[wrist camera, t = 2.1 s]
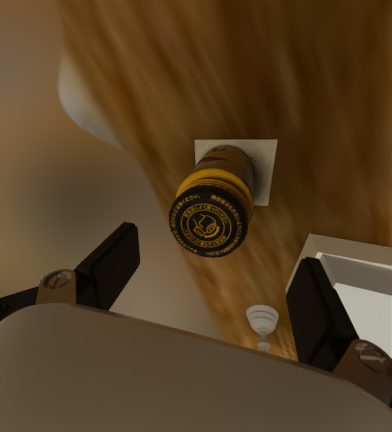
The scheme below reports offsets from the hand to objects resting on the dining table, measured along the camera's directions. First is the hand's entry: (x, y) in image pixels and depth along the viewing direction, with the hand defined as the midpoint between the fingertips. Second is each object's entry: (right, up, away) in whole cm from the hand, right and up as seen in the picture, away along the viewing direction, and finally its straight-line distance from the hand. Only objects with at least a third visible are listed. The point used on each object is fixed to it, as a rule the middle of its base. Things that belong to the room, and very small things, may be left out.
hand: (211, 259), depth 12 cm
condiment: (+3, +7, +11) cm, 14 cm away
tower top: (+16, -6, +11) cm, 21 cm away
